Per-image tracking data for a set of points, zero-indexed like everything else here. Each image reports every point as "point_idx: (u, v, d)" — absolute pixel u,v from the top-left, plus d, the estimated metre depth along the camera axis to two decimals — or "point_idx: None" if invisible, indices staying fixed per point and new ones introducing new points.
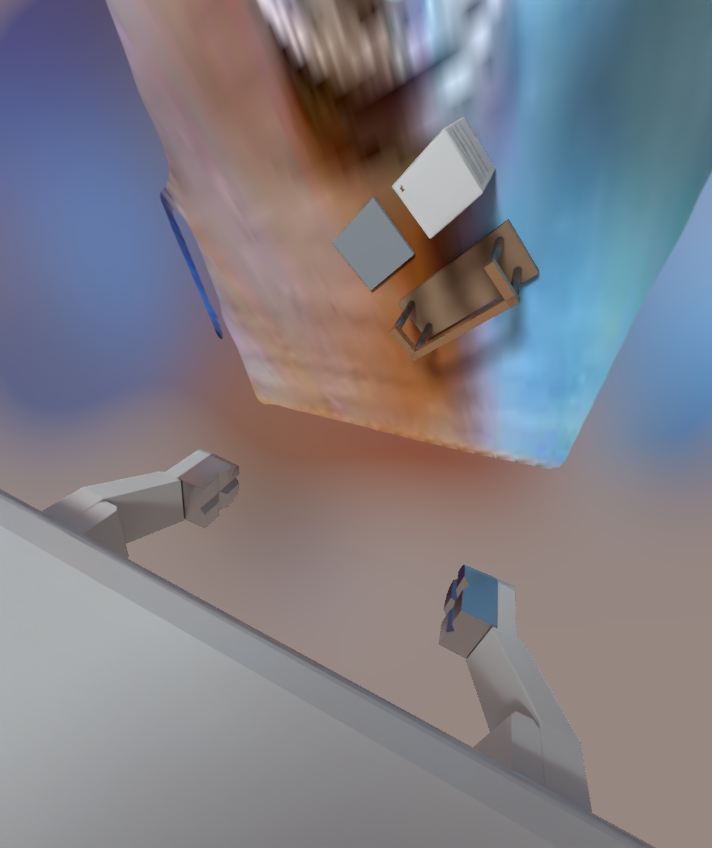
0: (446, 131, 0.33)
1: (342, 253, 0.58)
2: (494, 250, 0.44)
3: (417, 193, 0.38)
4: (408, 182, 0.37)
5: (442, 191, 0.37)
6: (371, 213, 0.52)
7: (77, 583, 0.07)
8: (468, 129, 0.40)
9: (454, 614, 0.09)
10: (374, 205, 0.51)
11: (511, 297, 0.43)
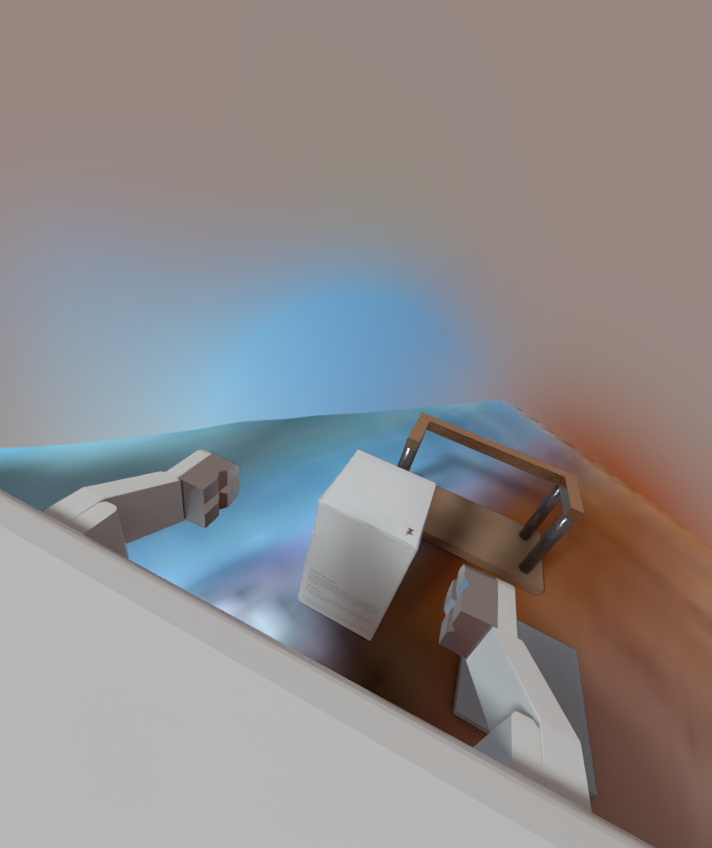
0: (320, 498, 0.23)
1: (587, 751, 0.25)
2: None
3: (401, 509, 0.24)
4: (396, 525, 0.23)
5: (381, 482, 0.26)
6: (477, 703, 0.26)
7: (77, 583, 0.07)
8: None
9: (454, 614, 0.09)
10: (464, 701, 0.26)
11: (423, 417, 0.39)
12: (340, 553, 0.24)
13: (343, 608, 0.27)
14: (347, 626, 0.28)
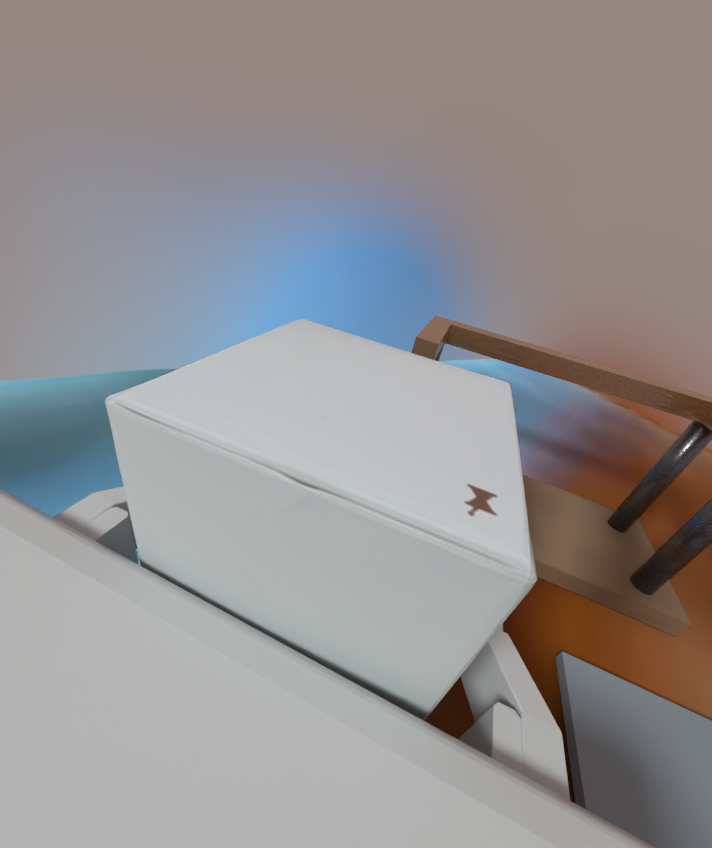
0: (121, 393, 0.06)
1: None
2: None
3: (432, 430, 0.07)
4: (422, 477, 0.05)
5: (358, 368, 0.08)
6: None
7: (77, 583, 0.07)
8: None
9: None
10: None
11: (438, 320, 0.21)
12: (225, 597, 0.07)
13: None
14: None
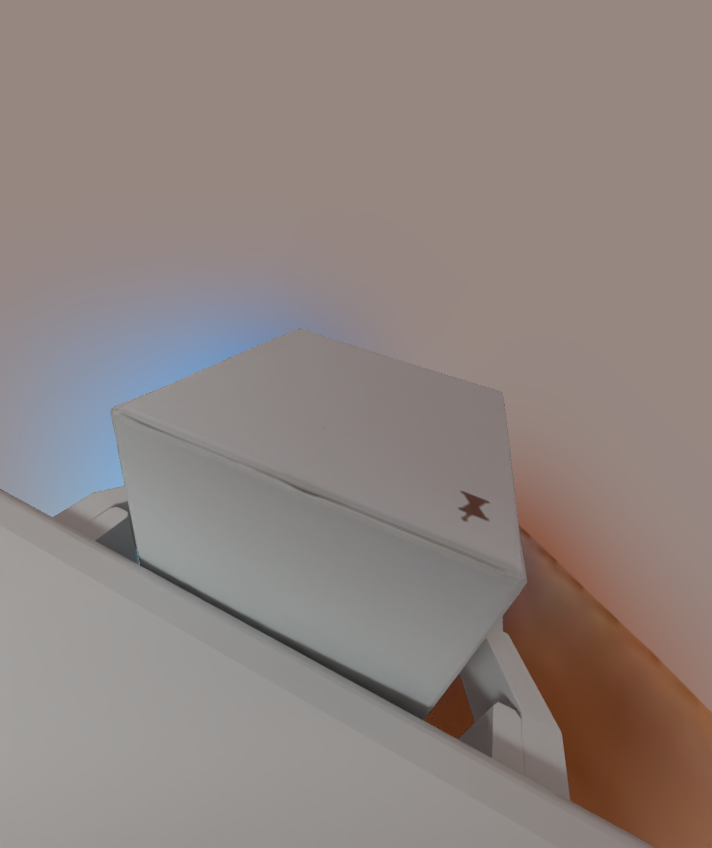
0: (126, 404, 0.06)
1: None
2: None
3: (427, 438, 0.07)
4: (418, 484, 0.06)
5: (355, 378, 0.09)
6: None
7: (77, 583, 0.07)
8: None
9: None
10: None
11: None
12: (225, 602, 0.07)
13: None
14: None
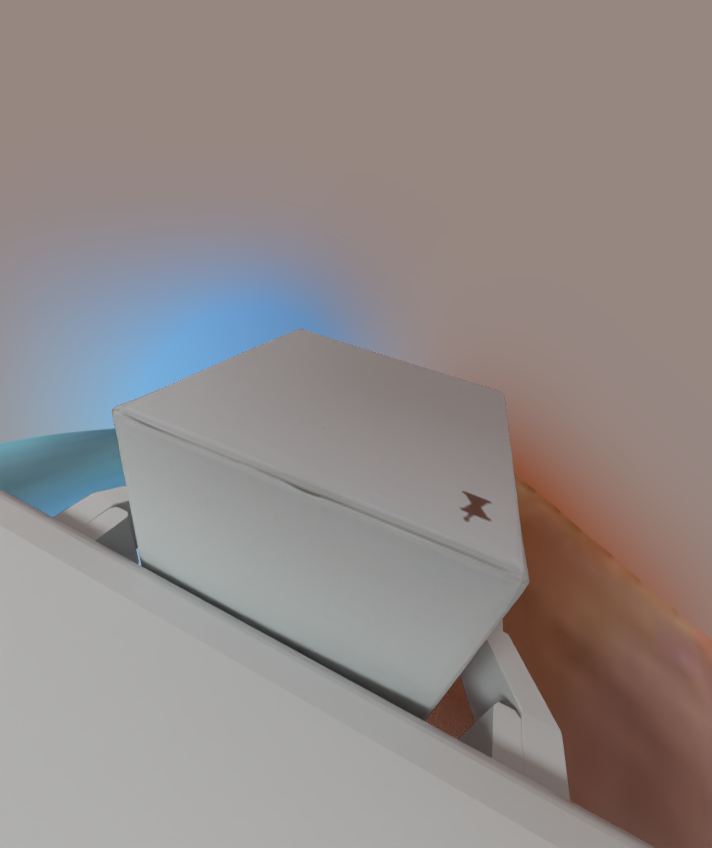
0: (127, 404, 0.06)
1: None
2: None
3: (429, 438, 0.07)
4: (419, 484, 0.06)
5: (356, 378, 0.09)
6: None
7: (77, 583, 0.07)
8: None
9: None
10: None
11: None
12: (227, 603, 0.07)
13: None
14: None
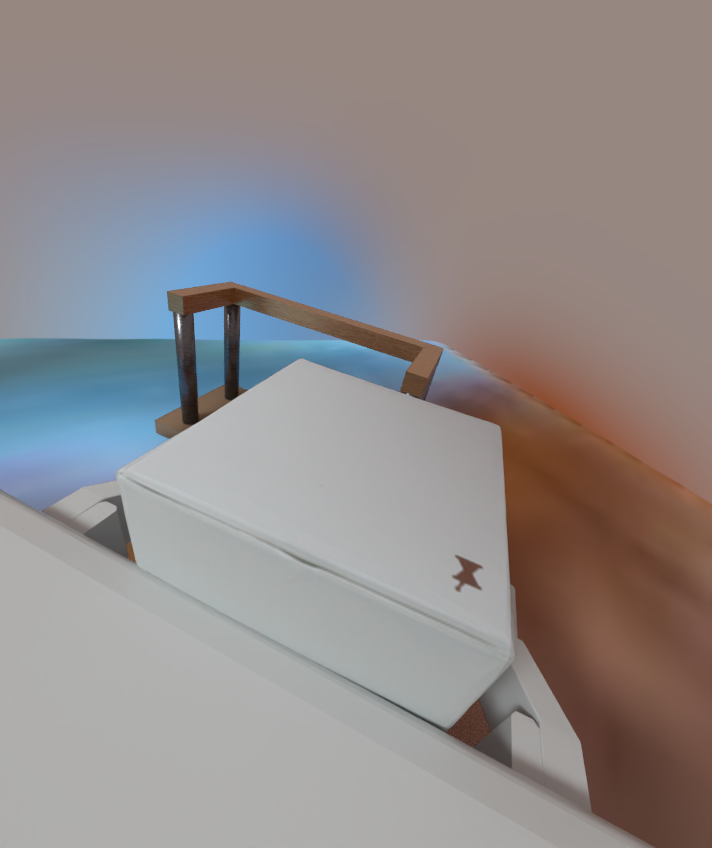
0: (130, 464, 0.06)
1: None
2: (178, 359, 0.24)
3: (424, 491, 0.07)
4: (413, 549, 0.06)
5: (354, 420, 0.09)
6: None
7: (77, 583, 0.07)
8: None
9: None
10: None
11: (226, 284, 0.26)
12: None
13: None
14: None
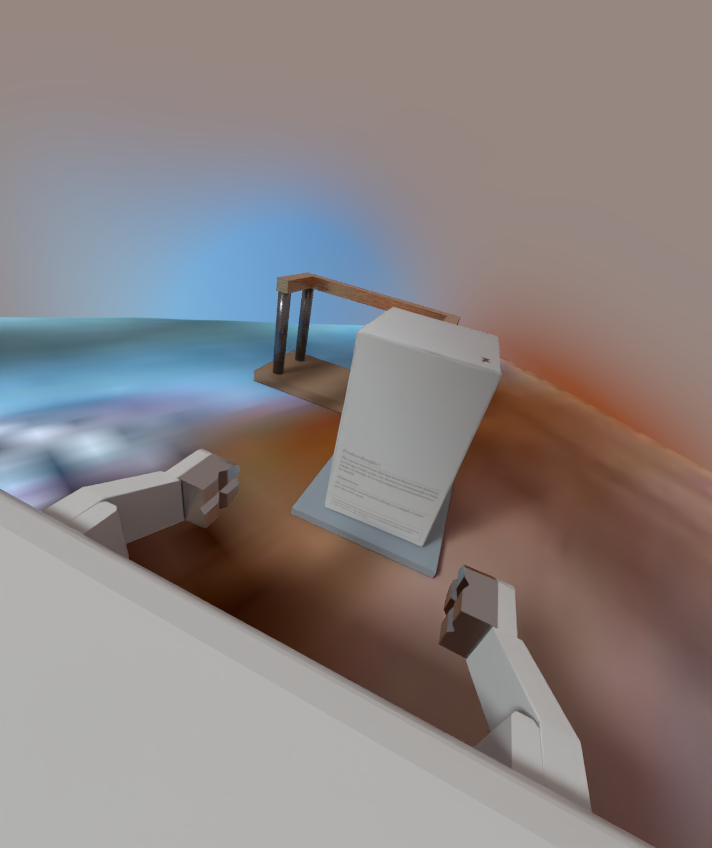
0: (359, 330, 0.17)
1: (437, 543, 0.23)
2: (277, 325, 0.35)
3: (467, 345, 0.18)
4: (466, 354, 0.17)
5: (431, 326, 0.20)
6: (320, 504, 0.24)
7: (77, 583, 0.07)
8: None
9: (454, 614, 0.09)
10: (305, 502, 0.23)
11: (306, 274, 0.37)
12: (387, 411, 0.18)
13: (387, 503, 0.21)
14: (392, 530, 0.22)
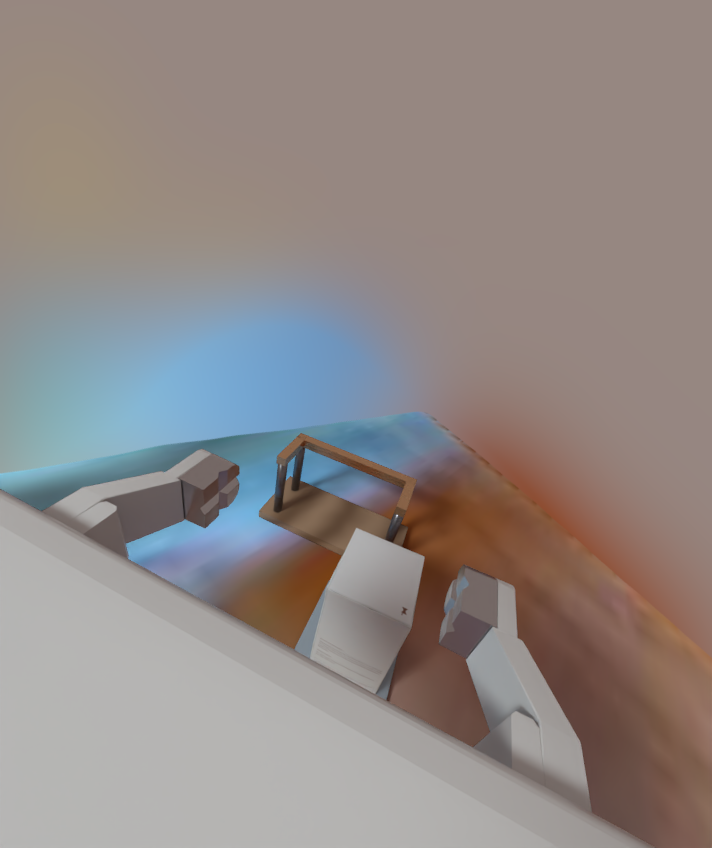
0: (328, 585, 0.28)
1: (385, 688, 0.33)
2: (277, 483, 0.45)
3: (396, 589, 0.29)
4: (393, 605, 0.27)
5: (377, 562, 0.30)
6: None
7: (77, 583, 0.07)
8: None
9: (454, 614, 0.09)
10: None
11: (299, 437, 0.47)
12: (346, 628, 0.29)
13: (350, 669, 0.32)
14: None
